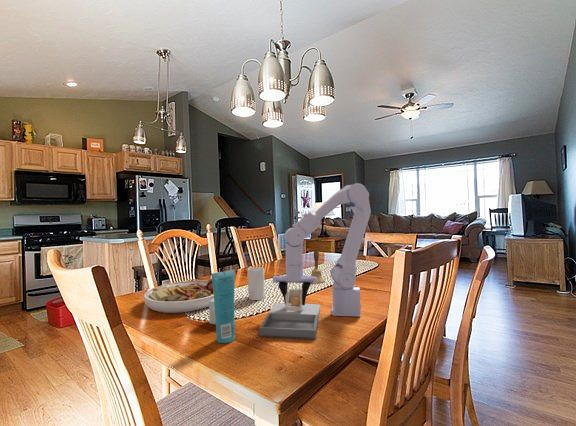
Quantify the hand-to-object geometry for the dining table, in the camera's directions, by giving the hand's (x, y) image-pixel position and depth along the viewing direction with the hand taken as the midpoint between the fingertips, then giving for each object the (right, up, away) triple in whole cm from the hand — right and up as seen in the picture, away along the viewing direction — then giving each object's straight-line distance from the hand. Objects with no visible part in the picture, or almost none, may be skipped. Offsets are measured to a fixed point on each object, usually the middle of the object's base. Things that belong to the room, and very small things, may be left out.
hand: (295, 304), depth 102 cm
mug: (-16, -4, +22) cm, 27 cm away
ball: (0, 0, +1) cm, 1 cm away
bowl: (-43, -5, +18) cm, 46 cm away
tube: (-20, -5, -17) cm, 27 cm away
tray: (-2, -4, -11) cm, 12 cm away
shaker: (0, -1, 0) cm, 1 cm away
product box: (-24, -5, -3) cm, 24 cm away
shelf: (0, -4, 0) cm, 4 cm away
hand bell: (+12, -3, +46) cm, 47 cm away
